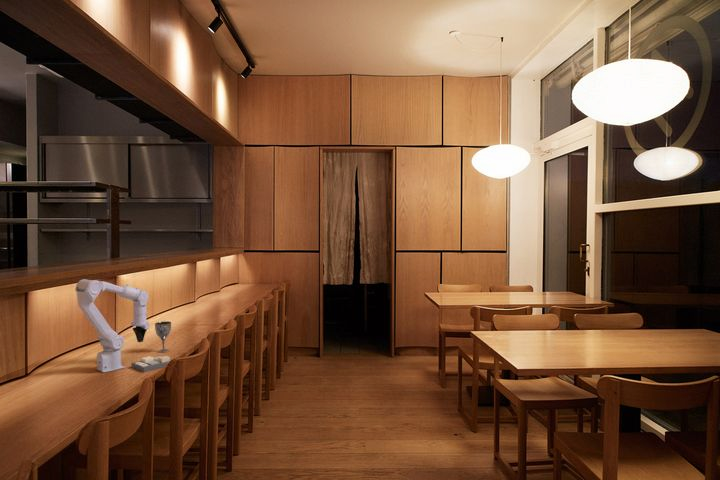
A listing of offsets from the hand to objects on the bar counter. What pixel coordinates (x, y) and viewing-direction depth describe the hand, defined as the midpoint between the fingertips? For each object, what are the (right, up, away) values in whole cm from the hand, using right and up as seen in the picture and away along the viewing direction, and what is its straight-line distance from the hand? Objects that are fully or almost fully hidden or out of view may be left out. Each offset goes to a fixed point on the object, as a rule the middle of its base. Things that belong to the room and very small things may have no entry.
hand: (140, 341), depth 222 cm
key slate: (+11, -9, -11) cm, 18 cm away
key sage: (+10, -9, -3) cm, 14 cm away
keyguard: (+10, -10, -8) cm, 16 cm away
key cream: (+7, -8, -7) cm, 13 cm away
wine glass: (+4, -9, +18) cm, 20 cm away
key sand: (+15, -8, -7) cm, 18 cm away
